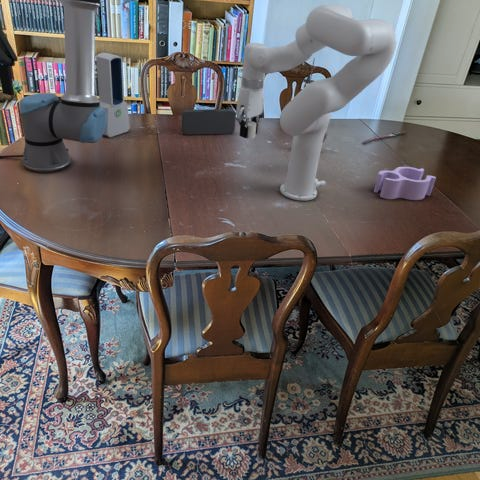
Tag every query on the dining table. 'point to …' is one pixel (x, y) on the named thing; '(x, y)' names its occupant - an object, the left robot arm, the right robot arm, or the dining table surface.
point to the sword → (383, 137)
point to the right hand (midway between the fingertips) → (248, 134)
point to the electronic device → (112, 93)
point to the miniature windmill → (308, 74)
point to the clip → (404, 184)
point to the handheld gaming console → (208, 121)
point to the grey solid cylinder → (251, 130)
